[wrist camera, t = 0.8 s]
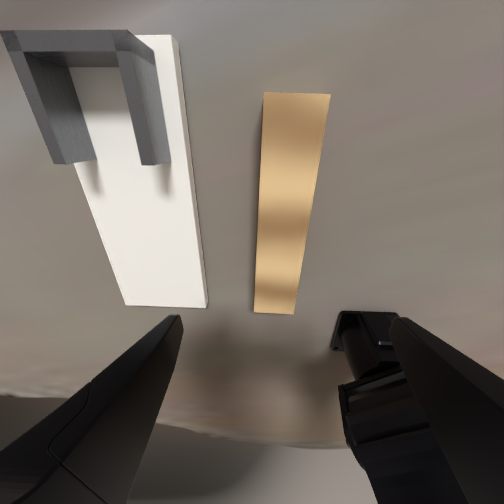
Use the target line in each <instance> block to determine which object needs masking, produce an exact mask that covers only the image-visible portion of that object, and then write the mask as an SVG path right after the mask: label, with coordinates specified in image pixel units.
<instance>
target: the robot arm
mask: <svg viewBox="0 0 504 504" xmlns="http://www.w3.org/2000/svg"><path fill="white" fill-rule="evenodd" d="M344 315H345V316H344ZM182 336H183V324H182V321H181V317H180V315H178V314H171V315H169V316H167V317H166V318H165V319H164V320H163V321H161V322H160V323H159V324H158V325H157V326H155V327H154V328H153V329H152V330H151V331H149V332H148V333H147V334H146V335H145V336H143V337H142V338H141V339H140V340H139V341H138V342H136V343H135V344H134V345H133V346H132V347H130V348H129V349H128V350H127V351H126V352H124V353H123V354H122V355H121V356H120V357H118V358H117V359H116V360H115V361H114V362H113V363H111V364H110V365H109V366H108V367H107V368H105V369H104V370H103V371H102V372H101V373H99V374H98V375H97V376H96V377H95V378H93V379H92V380H91V382H89V383H87V384H86V385H85V386H84V387H83V388H81V389H80V390H79V391H78V392H77V393H75V394H74V395H73V396H72V397H70V398H69V399H68V400H67V401H66V402H64V403H63V404H62V405H61V406H59V407H58V408H57V409H55V410H54V411H53V412H52V413H50V414H49V415H48V416H46V417H45V418H44V419H42V420H41V421H40V422H38V423H37V424H36V425H34V426H33V427H32V428H30V429H29V430H28V431H26V432H25V433H24V434H22V435H21V436H20V437H18V438H17V439H16V440H14V441H13V442H12V443H10V444H9V445H8V446H6V447H5V448H4V449H2V450H1V451H0V504H126V502H127V499H128V496H129V494H130V491H131V488H132V485H133V482H134V480H135V477H136V474H137V471H138V468H139V466H140V463H141V460H142V457H143V455H144V452H145V449H146V446H147V443H148V441H149V438H150V435H151V432H152V430H153V427H154V424H155V421H156V419H157V416H158V413H159V410H160V407H161V405H162V402H163V399H164V396H165V393H166V391H167V388H168V385H169V382H170V380H171V377H172V374H173V371H174V368H175V364H176V360H177V356H178V352H179V348H180V344H181V340H182ZM331 347H332V350H334V351H344V352H345V355H346V357H347V360H348V362H349V365H350V368H351V370H352V373H353V376H354V378H355V381H353V382H350V383H347V384H345V385H343V384H342V385H339V386H338V390H339V401H340V408H341V415H342V421H343V428H344V434H345V437H346V443H347V445H348V447H349V448H350V449H351V450H352V452H353V454H354V456H355V458H356V460H357V461H358V463H359V464H360V466H361V467H362V468H363V469H364V470H365V471H366V473H367V475H368V478H369V480H370V483H371V486H372V488H373V491H374V494H375V497H376V499H377V502H378V504H504V380H503V379H502V378H500V377H498V376H497V375H495V374H494V373H492V372H491V371H489V370H488V369H486V368H484V367H483V366H481V365H480V364H478V363H477V362H475V361H474V360H472V359H471V358H469V357H467V356H466V355H464V354H463V353H461V352H460V351H458V350H457V349H455V348H454V347H452V346H450V345H449V344H447V343H446V342H444V341H443V340H441V339H440V338H438V337H436V336H435V335H433V334H432V333H430V332H429V331H427V330H426V329H424V328H423V327H421V326H419V325H418V324H416V323H415V322H413V321H412V320H410V319H409V318H406V317H399V315H398V314H397V313H393V312H366V311H342V312H341V313H340V316H339V320H338V323H337V327H336V330H335V334H334V337H333V341H332V344H331Z"/></svg>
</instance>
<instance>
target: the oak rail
mask: <svg viewBox="0 0 504 504" xmlns="http://www.w3.org/2000/svg"><path fill="white" fill-rule="evenodd" d="M330 96H331V94H305V93H271V92H264V102H263V124H262V145H261V167H260V189H259V211H258V233H257V255H256V276H255V298H254V312H261V313H281V314H294V308H295V302H296V296H297V290H298V284H299V278H300V273H301V267H302V261H303V255H304V249H305V243H306V237H307V231H308V225H309V219H310V214H311V208H312V202H313V196H314V190H315V184H316V178H317V172H318V166H319V160H320V155H321V149H322V143H323V137H324V131H325V125H326V119H327V113H328V107H329V101H330Z"/></svg>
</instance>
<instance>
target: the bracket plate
mask: <svg viewBox="0 0 504 504" xmlns="http://www.w3.org/2000/svg"><path fill="white" fill-rule="evenodd" d="M0 33H1V36H2V38H3V41H4V43H5V46H6V48H7V50H8V53H9V55H10V58H11V60H12V63H13V65H14V67H15V70H16V72H17V75H18V77H19V80H20V82H21V85H22V87H23V89H24V92H25V94H26V97H27V99H28V102H29V104H30V106H31V109H32V111H33V114H34V116H35V119H36V121H37V124H38V126H39V128H40V131H41V133H42V136H43V138H44V141H45V143H46V145H47V148H48V150H49V153H50V155H51V158H52V160H53V163H54V164H71V163H74V165H75V168H76V171H77V173H78V176H79V179H80V181H81V184H82V187H83V190H84V192H85V195H86V198H87V201H88V203H89V206H90V209H91V211H92V214H93V217H94V220H95V222H96V225H97V228H98V230H99V233H100V236H101V239H102V241H103V244H104V247H105V249H106V252H107V255H108V258H109V260H110V263H111V266H112V268H113V271H114V274H115V277H116V279H117V282H118V285H119V287H120V290H121V293H122V296H123V298H124V301H125V304H126V305H139V306H165V307H191V308H206V306H207V303H208V294H207V285H206V277H205V268H204V260H203V251H202V243H201V234H200V226H199V218H198V209H197V201H196V192H195V184H194V175H193V167H192V158H191V150H190V141H189V133H188V124H187V116H186V107H185V99H184V91H183V82H182V74H181V65H180V57H179V48H178V42H177V41H176V40H175V39H174V38H173V37H172V36H171V35H133V34H132V33H130V32H129V31H128V30H10V31H0Z"/></svg>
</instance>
